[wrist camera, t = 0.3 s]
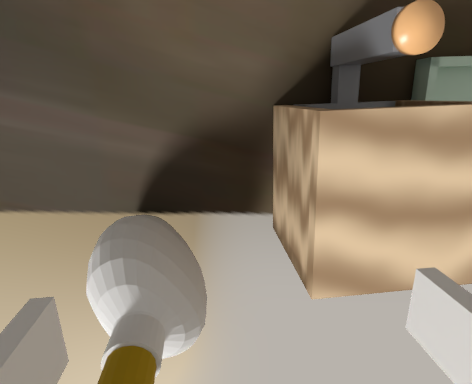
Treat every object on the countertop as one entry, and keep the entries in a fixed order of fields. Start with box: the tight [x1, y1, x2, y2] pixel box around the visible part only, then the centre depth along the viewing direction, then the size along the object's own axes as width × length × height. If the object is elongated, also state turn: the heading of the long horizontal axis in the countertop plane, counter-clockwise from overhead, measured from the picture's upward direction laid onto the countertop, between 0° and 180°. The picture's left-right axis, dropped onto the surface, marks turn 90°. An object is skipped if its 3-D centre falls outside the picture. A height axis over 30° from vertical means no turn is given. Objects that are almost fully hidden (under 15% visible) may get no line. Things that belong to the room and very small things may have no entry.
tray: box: [411, 56, 472, 101], centre depth 37 cm, size 14×14×2 cm
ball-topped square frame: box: [293, 0, 445, 109], centre depth 31 cm, size 20×11×13 cm, turn 2°
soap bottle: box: [86, 215, 207, 384], centre depth 27 cm, size 14×9×26 cm, turn 35°
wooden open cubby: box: [273, 100, 472, 299], centre depth 31 cm, size 16×16×15 cm
